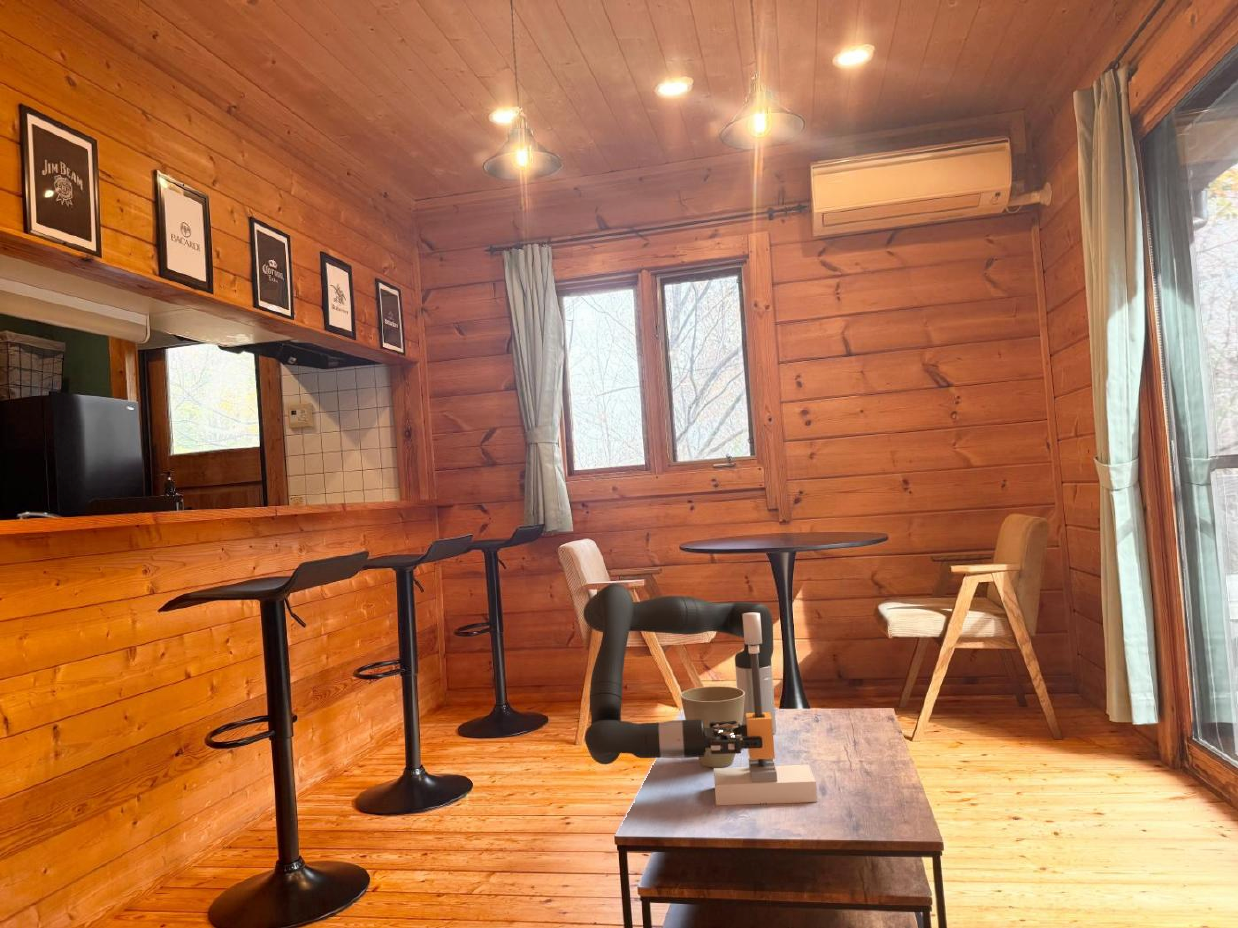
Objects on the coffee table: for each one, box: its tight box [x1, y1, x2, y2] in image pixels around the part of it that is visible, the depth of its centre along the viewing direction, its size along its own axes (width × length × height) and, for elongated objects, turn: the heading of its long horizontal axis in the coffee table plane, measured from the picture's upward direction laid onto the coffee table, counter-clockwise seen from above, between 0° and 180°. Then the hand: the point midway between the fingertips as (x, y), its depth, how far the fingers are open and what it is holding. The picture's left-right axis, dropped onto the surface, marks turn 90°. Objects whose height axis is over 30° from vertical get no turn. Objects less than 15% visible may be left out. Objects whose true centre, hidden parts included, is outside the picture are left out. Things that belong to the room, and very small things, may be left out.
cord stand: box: [713, 612, 818, 806], centre depth 173 cm, size 10×20×37 cm, turn 85°
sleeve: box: [746, 712, 776, 760], centre depth 172 cm, size 5×5×8 cm
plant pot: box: [680, 685, 745, 768], centre depth 194 cm, size 15×15×16 cm
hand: (760, 735), depth 172 cm, fingers open, 8 cm apart
